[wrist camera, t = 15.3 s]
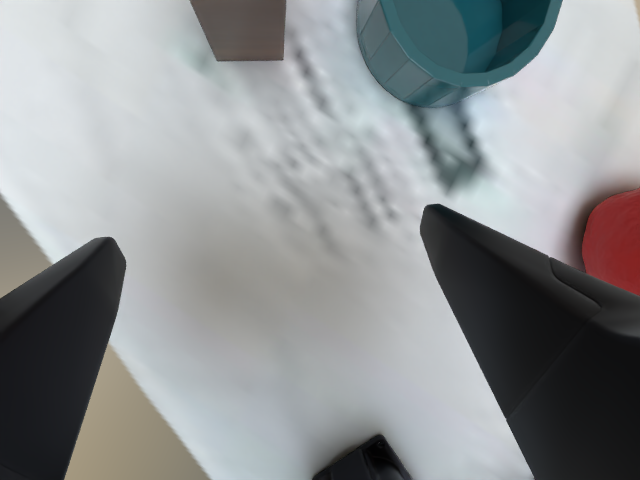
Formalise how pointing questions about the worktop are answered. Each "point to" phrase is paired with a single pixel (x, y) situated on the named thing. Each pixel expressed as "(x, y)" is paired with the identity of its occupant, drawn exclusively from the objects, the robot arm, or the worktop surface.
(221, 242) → the worktop surface
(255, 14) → the block
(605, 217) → the pomegranate
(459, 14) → the teal mug
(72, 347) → the robot arm
